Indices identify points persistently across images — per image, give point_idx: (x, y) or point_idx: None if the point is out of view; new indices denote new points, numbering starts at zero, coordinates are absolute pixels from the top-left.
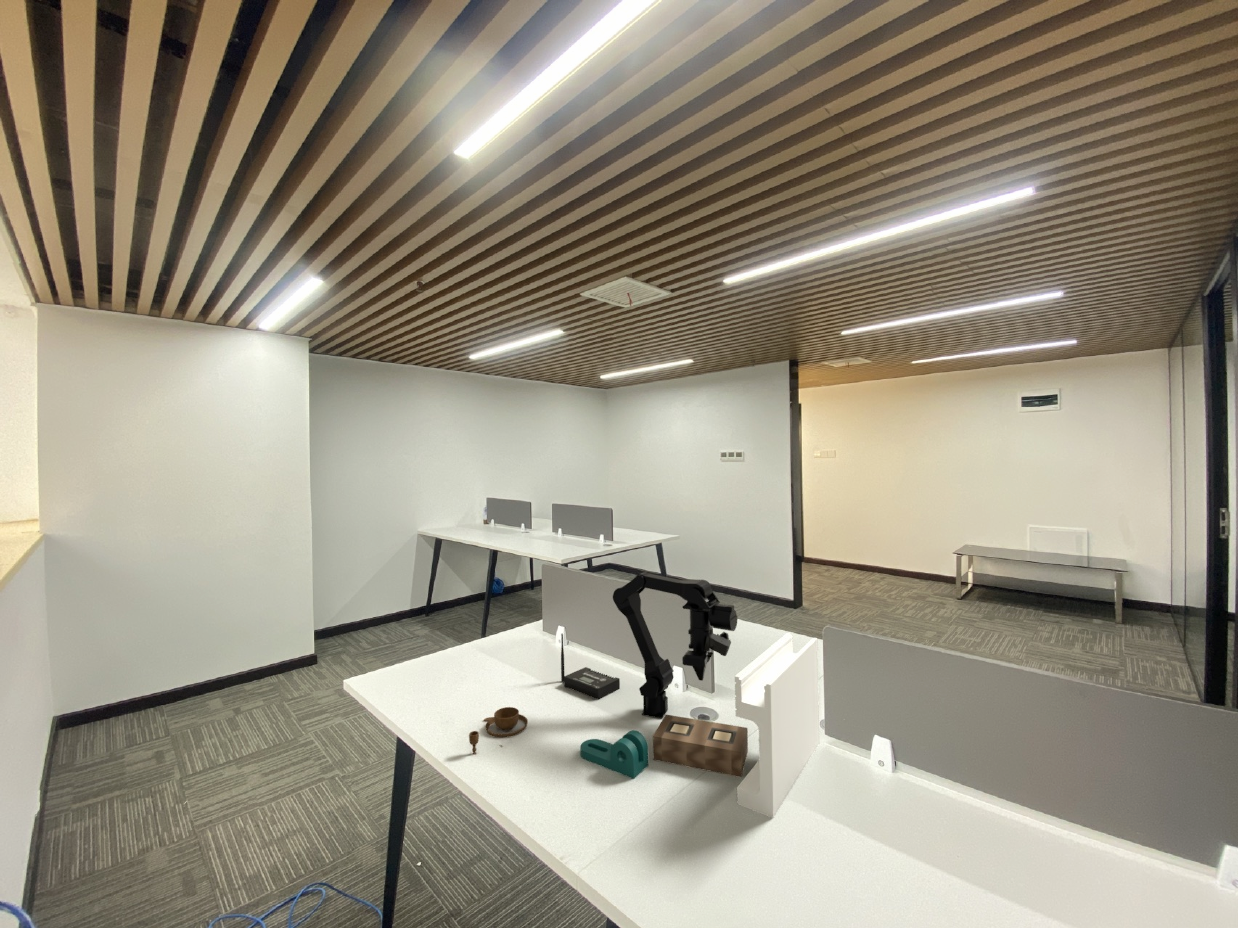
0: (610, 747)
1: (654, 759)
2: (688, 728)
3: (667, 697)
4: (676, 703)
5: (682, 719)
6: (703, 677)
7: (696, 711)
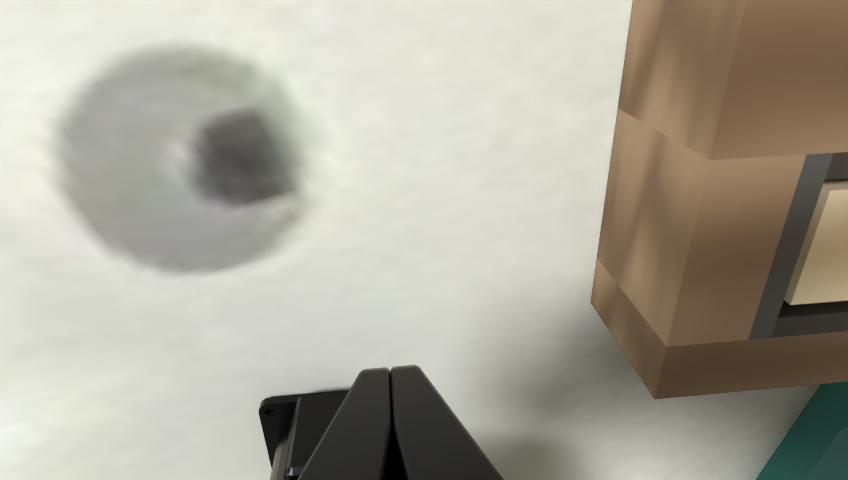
0: (832, 476)
1: None
2: (846, 186)
3: (292, 466)
4: (149, 380)
5: (722, 272)
6: (379, 390)
7: (183, 234)
